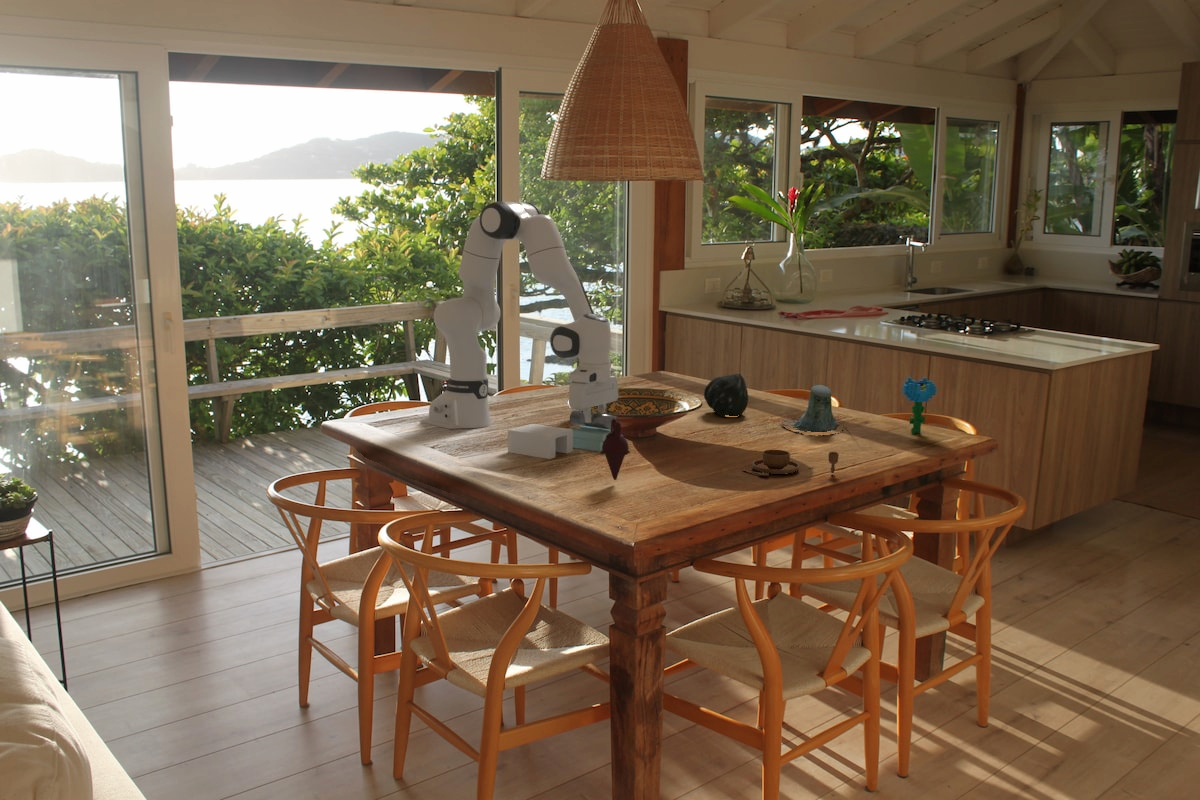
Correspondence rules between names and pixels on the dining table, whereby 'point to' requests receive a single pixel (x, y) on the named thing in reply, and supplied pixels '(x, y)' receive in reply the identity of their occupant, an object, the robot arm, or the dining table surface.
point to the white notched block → (540, 440)
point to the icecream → (615, 448)
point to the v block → (589, 437)
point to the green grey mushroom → (817, 412)
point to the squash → (727, 395)
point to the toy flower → (918, 399)
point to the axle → (598, 420)
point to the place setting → (783, 462)
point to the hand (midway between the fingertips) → (594, 421)
